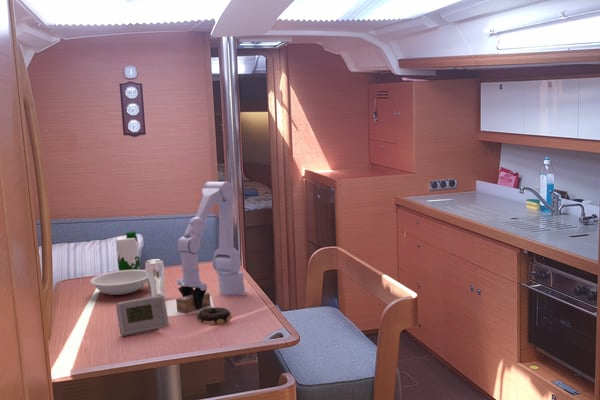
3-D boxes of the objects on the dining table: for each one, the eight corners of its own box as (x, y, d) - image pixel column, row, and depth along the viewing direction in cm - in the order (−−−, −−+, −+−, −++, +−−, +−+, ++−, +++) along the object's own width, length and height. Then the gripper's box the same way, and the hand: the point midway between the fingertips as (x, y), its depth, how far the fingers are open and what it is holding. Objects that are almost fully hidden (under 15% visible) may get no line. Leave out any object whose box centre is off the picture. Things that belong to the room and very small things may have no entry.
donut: (203, 329, 225) (202, 317, 224) (193, 320, 235) (192, 308, 235) (235, 322, 229) (234, 311, 229) (224, 313, 240) (223, 302, 239)
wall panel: (211, 298, 260) (210, 287, 259) (215, 313, 240) (214, 302, 240) (152, 305, 256) (151, 294, 255) (151, 321, 236) (150, 310, 236)
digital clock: (118, 338, 221) (115, 306, 220) (119, 329, 230) (116, 298, 229) (169, 331, 225) (166, 300, 223) (168, 323, 233) (165, 292, 232)
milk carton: (139, 279, 296) (135, 234, 293) (118, 281, 295) (113, 235, 292) (142, 274, 304) (137, 230, 302) (121, 276, 304) (116, 232, 301)
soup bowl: (149, 281, 291) (148, 266, 290) (156, 295, 268) (154, 279, 267) (90, 290, 284) (89, 274, 283) (92, 305, 261) (90, 288, 260)
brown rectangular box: (201, 303, 250) (200, 290, 250) (210, 305, 247) (209, 292, 246) (177, 311, 243) (176, 298, 242) (185, 313, 239) (184, 300, 239)
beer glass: (162, 302, 259) (158, 263, 257) (145, 302, 260) (141, 263, 258) (169, 296, 266) (166, 258, 263) (152, 296, 267) (149, 259, 265)
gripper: (169, 269, 245) (172, 306, 247) (194, 275, 235) (197, 313, 237) (185, 265, 250) (188, 301, 252) (210, 270, 240) (213, 307, 242)
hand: (193, 306), depth 245 cm, fingers closed on brown rectangular box, 5 cm apart
